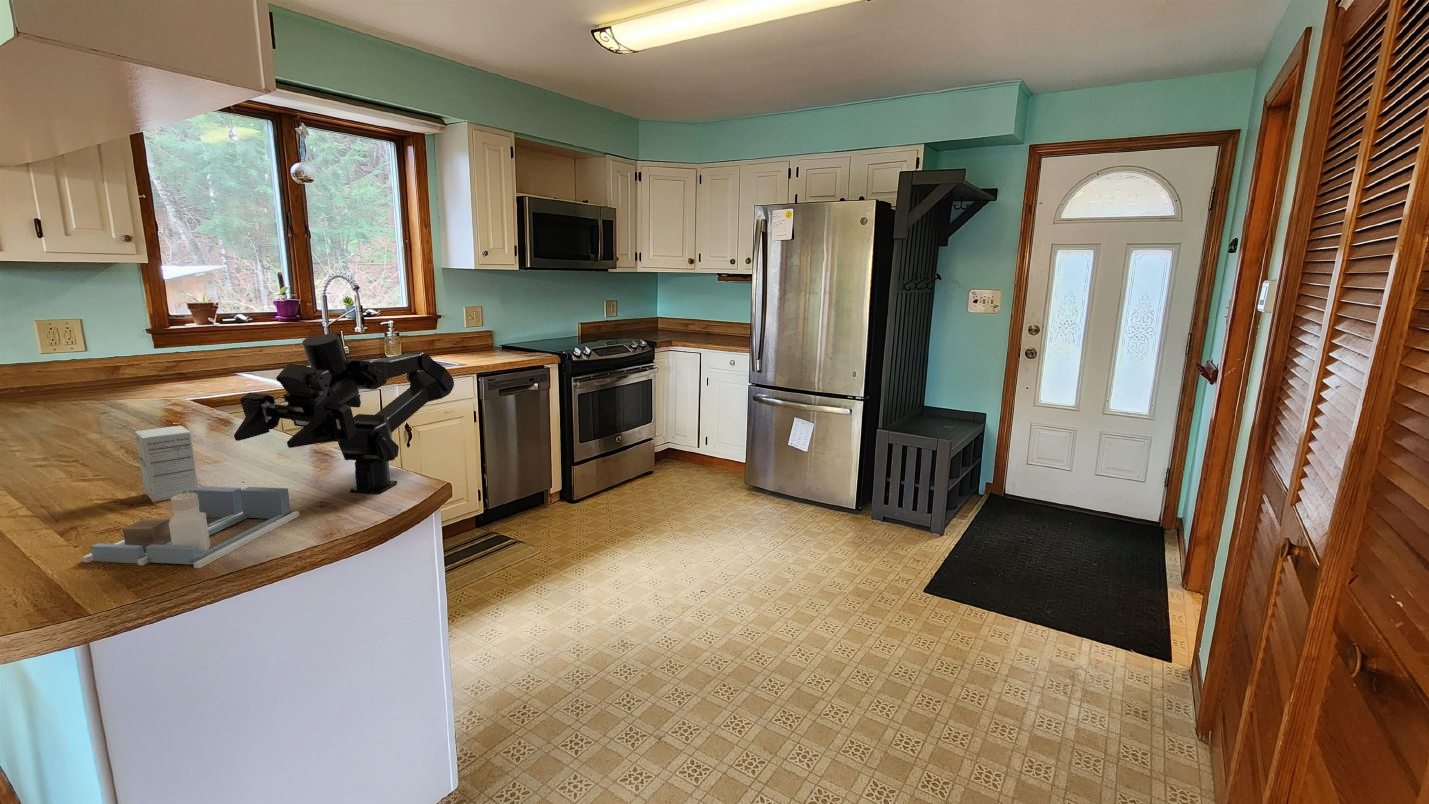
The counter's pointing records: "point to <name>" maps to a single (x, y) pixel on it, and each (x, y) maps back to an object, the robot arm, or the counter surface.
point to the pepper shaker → (189, 523)
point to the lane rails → (226, 549)
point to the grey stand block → (253, 506)
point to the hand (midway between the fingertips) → (261, 441)
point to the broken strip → (210, 502)
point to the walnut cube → (148, 533)
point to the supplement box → (166, 462)
